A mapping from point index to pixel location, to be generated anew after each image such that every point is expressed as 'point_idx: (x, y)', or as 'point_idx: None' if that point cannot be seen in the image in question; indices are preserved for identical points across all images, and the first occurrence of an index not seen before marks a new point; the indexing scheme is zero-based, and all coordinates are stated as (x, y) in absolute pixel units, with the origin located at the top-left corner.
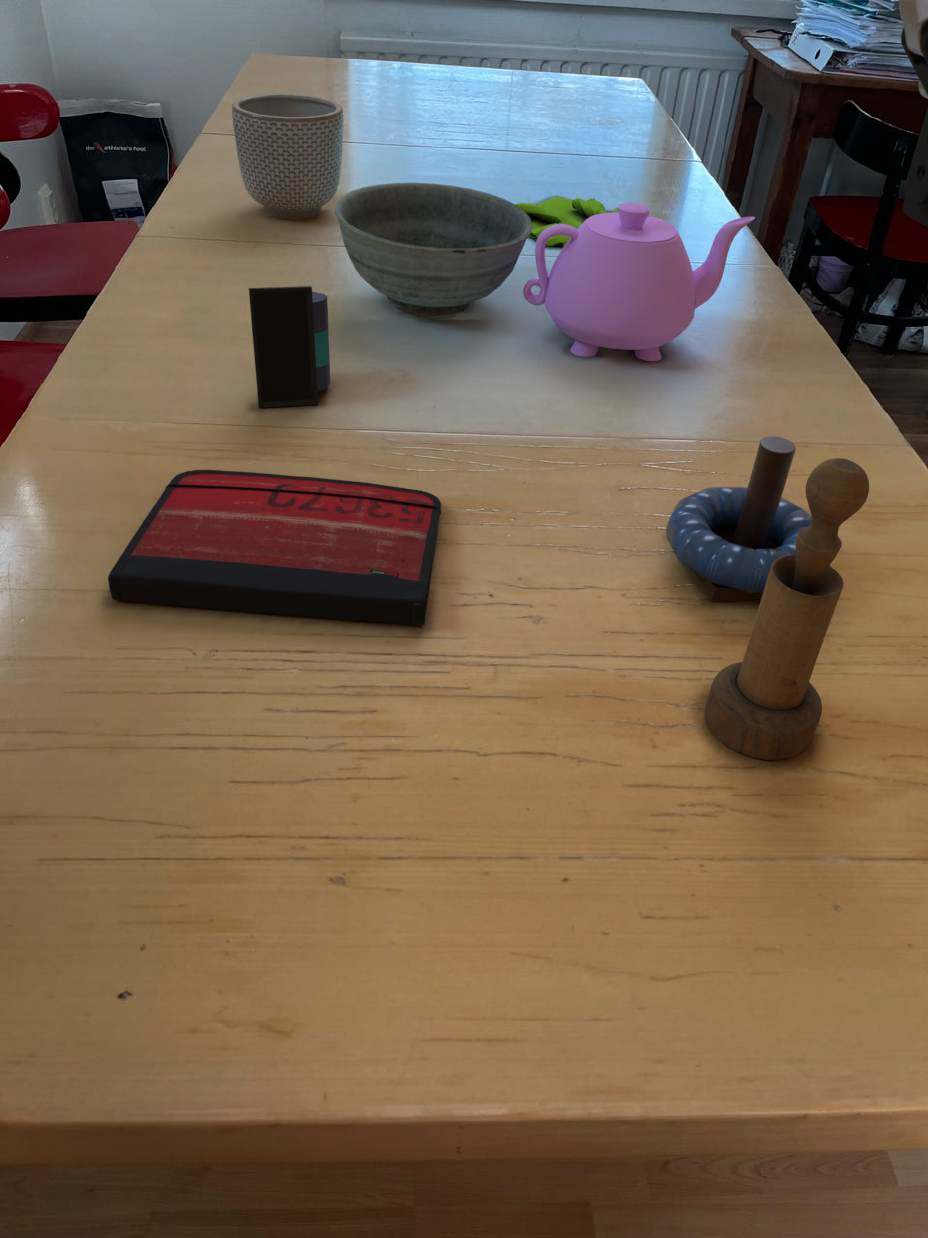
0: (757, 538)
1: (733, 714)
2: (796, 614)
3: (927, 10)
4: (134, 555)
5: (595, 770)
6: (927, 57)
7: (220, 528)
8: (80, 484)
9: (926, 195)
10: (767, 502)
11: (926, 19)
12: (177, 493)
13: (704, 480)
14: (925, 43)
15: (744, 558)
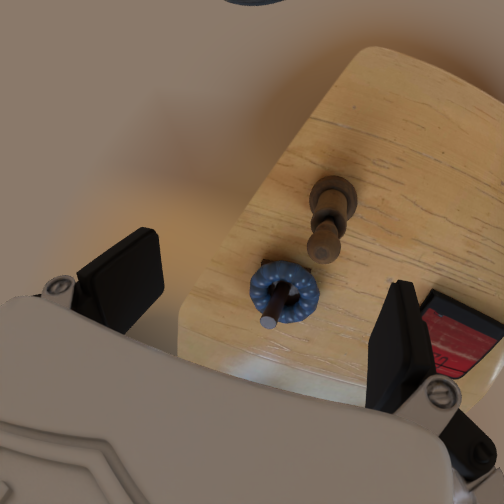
0: (281, 289)
1: (354, 196)
2: (340, 208)
3: (495, 480)
4: (497, 339)
5: (411, 195)
6: (487, 436)
7: (469, 349)
8: (481, 378)
9: (425, 322)
10: (277, 300)
11: (496, 471)
12: (467, 368)
13: (268, 334)
14: (495, 448)
15: (299, 277)
